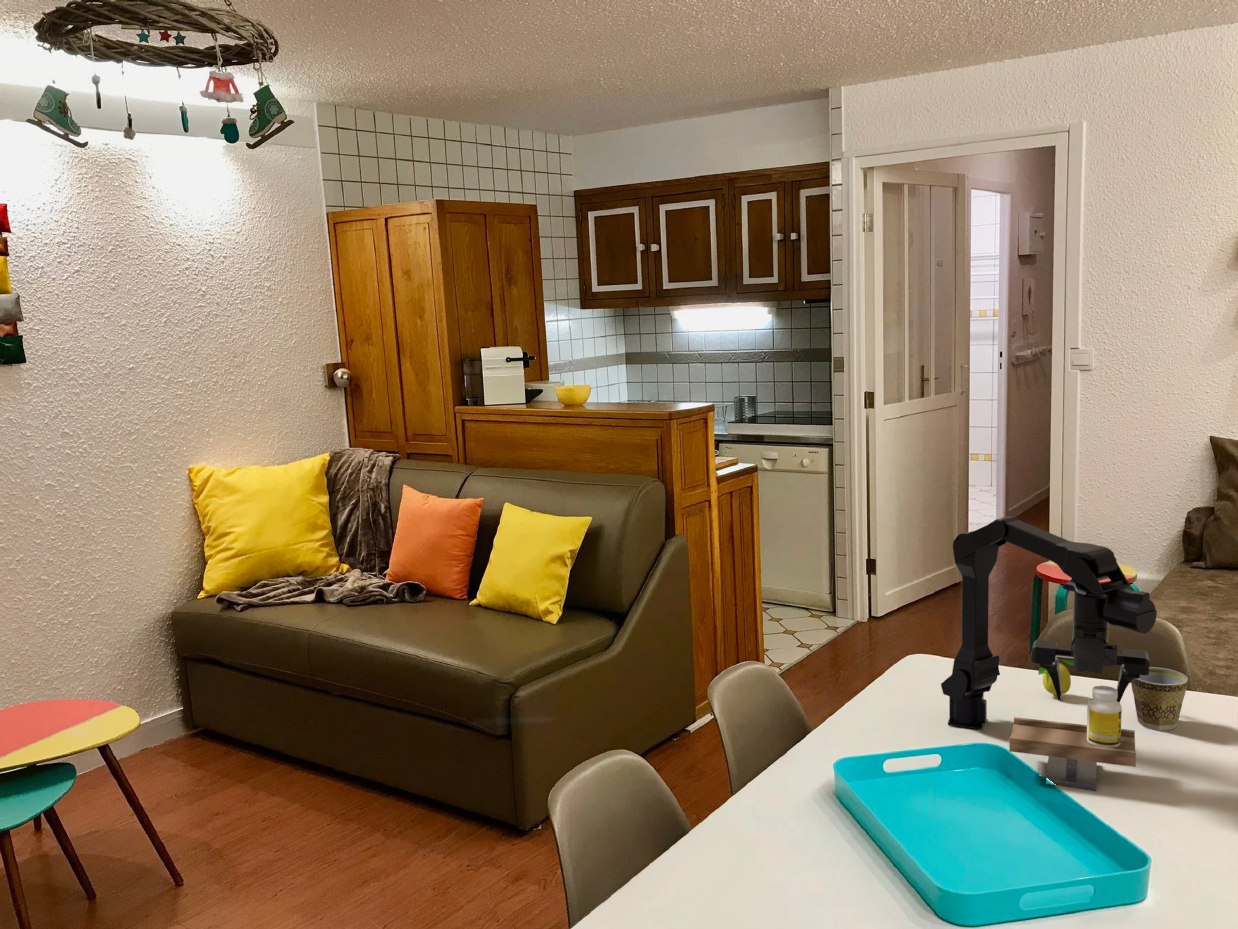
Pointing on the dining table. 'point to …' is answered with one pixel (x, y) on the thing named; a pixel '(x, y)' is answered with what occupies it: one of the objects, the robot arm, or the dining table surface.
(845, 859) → the dining table surface
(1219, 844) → the dining table surface
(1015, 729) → the balance board
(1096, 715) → the supplement bottle
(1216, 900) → the dining table surface
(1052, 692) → the lemon
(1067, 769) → the board stand
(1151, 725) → the ceramic cup
